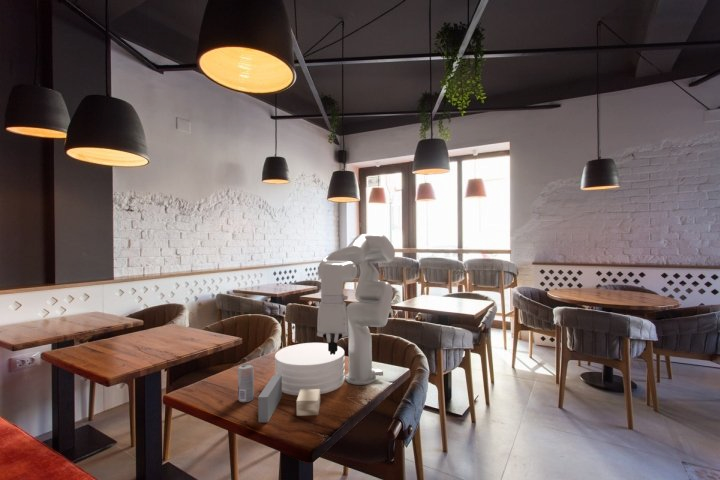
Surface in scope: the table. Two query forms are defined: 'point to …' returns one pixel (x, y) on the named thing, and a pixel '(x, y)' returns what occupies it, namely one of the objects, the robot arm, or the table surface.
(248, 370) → the energy drink
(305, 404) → the cream block
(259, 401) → the gray board
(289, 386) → the plate stack
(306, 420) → the table surface
